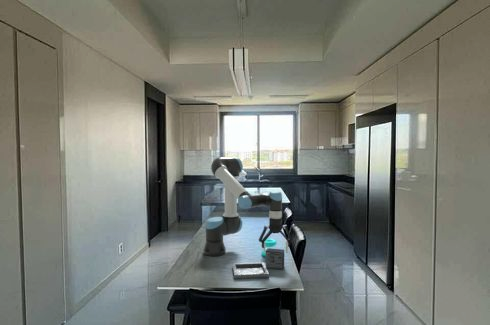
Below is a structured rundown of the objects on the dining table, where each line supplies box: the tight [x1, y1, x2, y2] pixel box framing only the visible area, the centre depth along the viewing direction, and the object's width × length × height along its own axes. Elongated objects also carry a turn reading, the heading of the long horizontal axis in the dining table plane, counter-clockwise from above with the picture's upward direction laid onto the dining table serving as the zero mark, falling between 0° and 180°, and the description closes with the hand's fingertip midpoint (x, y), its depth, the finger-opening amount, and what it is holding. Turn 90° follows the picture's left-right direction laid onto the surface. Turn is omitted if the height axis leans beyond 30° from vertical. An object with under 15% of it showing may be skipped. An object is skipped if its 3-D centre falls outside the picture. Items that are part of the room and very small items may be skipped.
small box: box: [265, 247, 285, 271], centre depth 193 cm, size 11×6×10 cm, turn 74°
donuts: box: [261, 238, 277, 258], centre depth 214 cm, size 10×10×10 cm
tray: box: [232, 261, 270, 280], centre depth 185 cm, size 19×17×2 cm
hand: (275, 252), depth 193 cm, fingers open, 13 cm apart
